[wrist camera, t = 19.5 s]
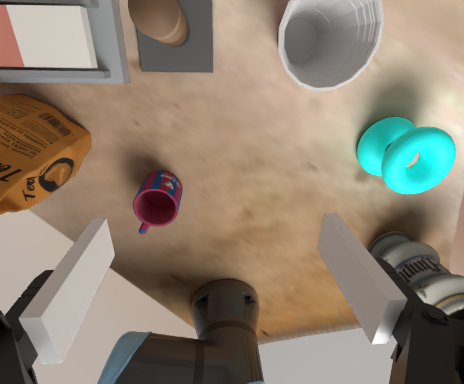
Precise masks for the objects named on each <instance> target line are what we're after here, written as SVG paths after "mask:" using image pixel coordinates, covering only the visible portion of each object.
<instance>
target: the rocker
mask: <svg viewBox="0 0 464 384" xmlns="http://www.w3.org/2000/svg"><path fill="white" fill-rule="evenodd" d="M0 66H7V67H58V68H98V66H97V61H96V56H95V51H94V46H93V40H92V35H91V30H90V25H89V20H88V14H87V9H86V8H84V7H81V6H46V5H0Z"/></svg>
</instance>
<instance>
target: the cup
mask: <svg viewBox="0 0 464 384" xmlns="http://www.w3.org/2000/svg"><path fill="white" fill-rule="evenodd" d="M181 196H182V185H181V182H180V181H179V179H178V178H177V177H176V176H174V175H173V174H171V173H169V172H165V171H158V172H154V173H152V174H150V175H149V176H148V177H147V178H146V179H145V181H144V183H143V185H142V186H141V188H140V190H139V192H138V194H137V195H136V197H135V199H134V202H133V209H134V212H135V214H136V216H137V217H138V218H139V219H140V220H141V221H142V222H143V223H142V225H141V227H140V229H139V233H141V234H145V233H146V232H147V230H148V228H149V226H164V225H167V224H169V223H171V222H172V221H173V220H174V219H175V218H176V216H177V214H178V209H179V205H180V200H181Z"/></svg>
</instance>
